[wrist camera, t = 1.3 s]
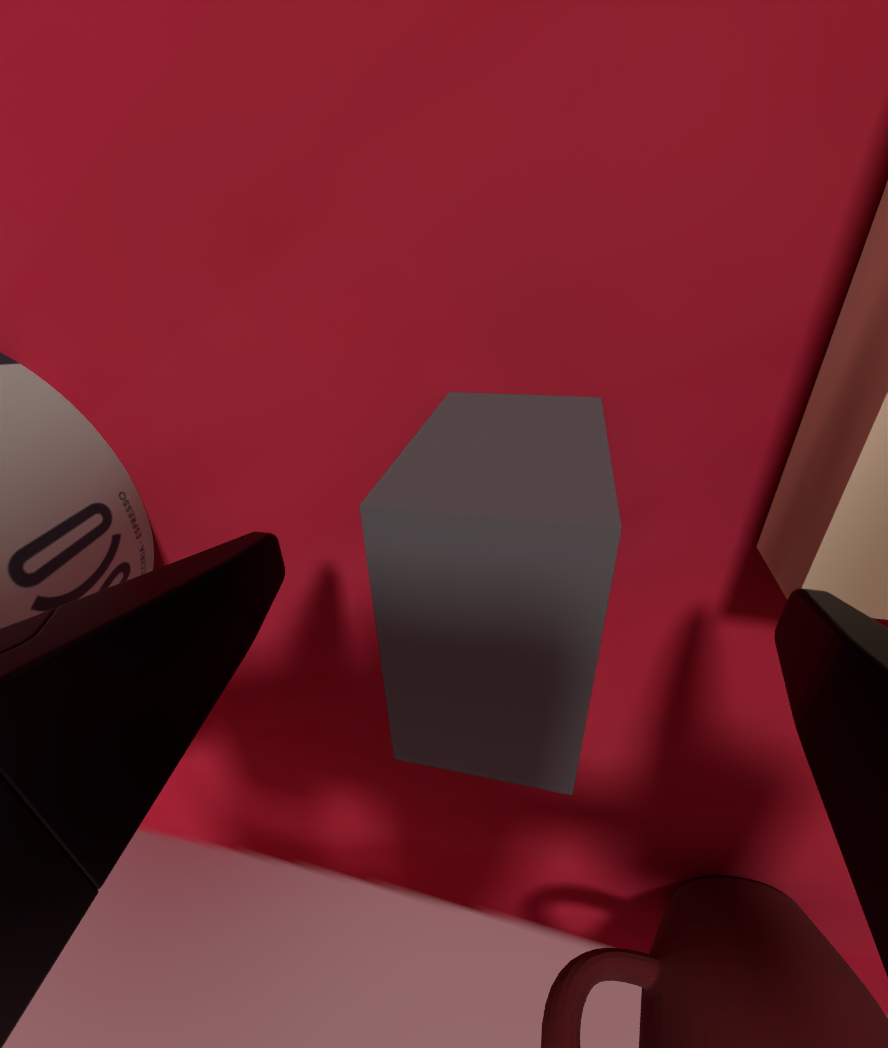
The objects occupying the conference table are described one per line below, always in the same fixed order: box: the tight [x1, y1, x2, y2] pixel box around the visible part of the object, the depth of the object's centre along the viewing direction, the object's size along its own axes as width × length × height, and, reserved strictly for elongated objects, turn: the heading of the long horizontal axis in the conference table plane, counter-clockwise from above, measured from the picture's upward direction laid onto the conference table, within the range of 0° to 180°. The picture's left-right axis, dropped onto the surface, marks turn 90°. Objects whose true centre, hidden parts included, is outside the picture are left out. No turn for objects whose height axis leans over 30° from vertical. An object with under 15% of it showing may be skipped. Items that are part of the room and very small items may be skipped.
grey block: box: [360, 392, 622, 795], centre depth 9 cm, size 3×5×5 cm, turn 2°
